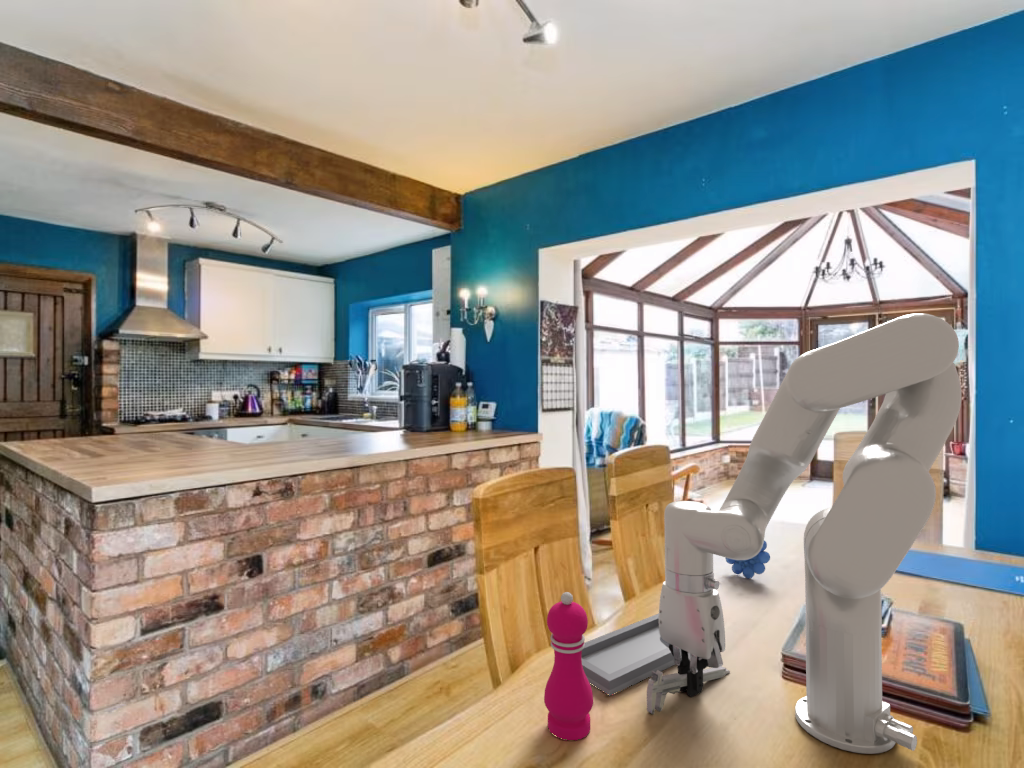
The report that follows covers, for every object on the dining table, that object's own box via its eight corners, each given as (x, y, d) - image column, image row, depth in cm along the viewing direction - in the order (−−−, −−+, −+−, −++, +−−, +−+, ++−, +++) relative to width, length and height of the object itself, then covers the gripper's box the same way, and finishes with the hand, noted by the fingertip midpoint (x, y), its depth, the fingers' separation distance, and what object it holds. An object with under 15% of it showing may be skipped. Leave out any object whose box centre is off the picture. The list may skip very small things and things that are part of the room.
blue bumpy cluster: (778, 580, 139) (777, 532, 139) (765, 586, 135) (764, 537, 134) (734, 568, 148) (734, 523, 148) (721, 574, 144) (720, 528, 144)
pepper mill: (589, 712, 85) (587, 582, 85) (598, 742, 78) (595, 601, 78) (542, 713, 85) (540, 584, 85) (547, 744, 78) (544, 603, 78)
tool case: (710, 647, 105) (710, 634, 105) (609, 696, 89) (609, 681, 89) (660, 624, 115) (659, 612, 115) (561, 666, 99) (560, 652, 99)
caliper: (652, 717, 84) (651, 676, 84) (646, 714, 85) (646, 673, 85) (730, 674, 96) (729, 638, 96) (724, 671, 97) (724, 635, 97)
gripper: (745, 587, 86) (747, 705, 86) (665, 562, 99) (667, 664, 99) (716, 599, 82) (718, 723, 82) (637, 571, 94) (638, 678, 95)
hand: (690, 690), depth 91 cm, fingers closed on caliper, 1 cm apart
